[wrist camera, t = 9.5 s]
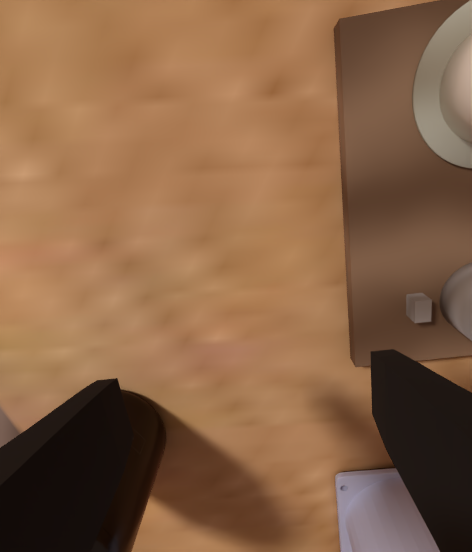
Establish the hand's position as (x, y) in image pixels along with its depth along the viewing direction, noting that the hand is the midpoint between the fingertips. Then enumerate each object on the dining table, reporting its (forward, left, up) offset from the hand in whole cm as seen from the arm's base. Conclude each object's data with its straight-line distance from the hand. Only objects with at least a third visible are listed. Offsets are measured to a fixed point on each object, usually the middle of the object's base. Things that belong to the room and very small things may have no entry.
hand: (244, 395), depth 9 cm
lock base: (+3, -12, -10) cm, 16 cm away
